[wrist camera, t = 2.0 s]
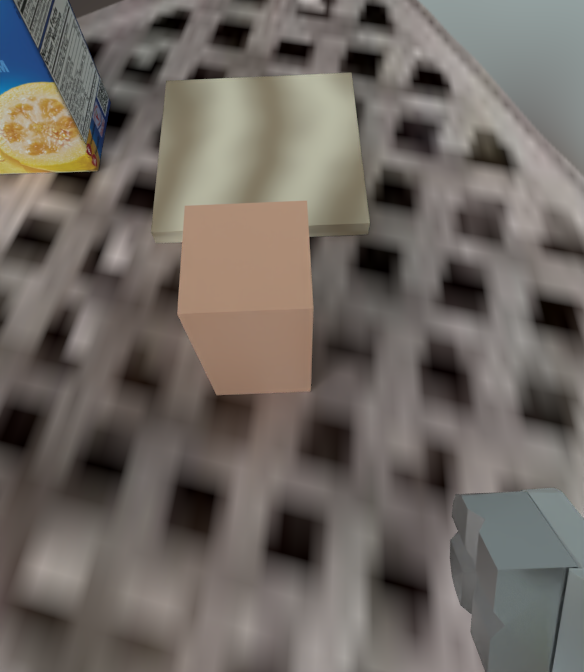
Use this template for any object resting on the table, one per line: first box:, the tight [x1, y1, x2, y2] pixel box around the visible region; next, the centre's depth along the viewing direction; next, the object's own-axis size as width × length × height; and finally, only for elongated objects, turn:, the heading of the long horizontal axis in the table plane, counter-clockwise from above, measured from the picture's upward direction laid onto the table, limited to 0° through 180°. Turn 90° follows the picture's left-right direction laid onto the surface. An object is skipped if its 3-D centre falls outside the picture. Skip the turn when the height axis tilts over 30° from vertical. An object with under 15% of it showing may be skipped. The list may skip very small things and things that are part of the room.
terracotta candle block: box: [177, 201, 313, 395], centre depth 26 cm, size 5×5×10 cm
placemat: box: [151, 73, 370, 243], centre depth 36 cm, size 14×14×1 cm
